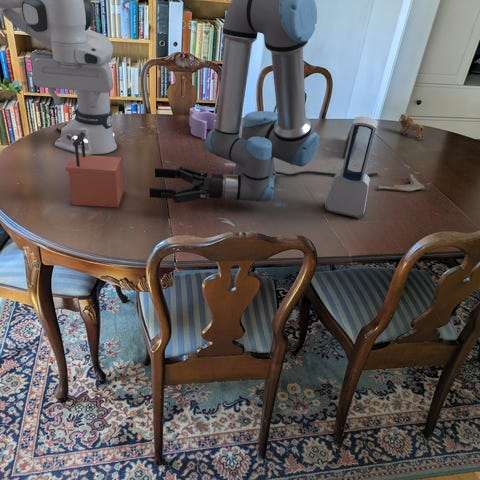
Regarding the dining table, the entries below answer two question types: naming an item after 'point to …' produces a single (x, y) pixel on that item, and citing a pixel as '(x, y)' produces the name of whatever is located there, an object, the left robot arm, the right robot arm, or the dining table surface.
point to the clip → (201, 122)
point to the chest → (96, 188)
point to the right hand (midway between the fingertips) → (152, 182)
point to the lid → (92, 161)
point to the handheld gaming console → (348, 141)
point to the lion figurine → (410, 125)
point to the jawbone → (405, 186)
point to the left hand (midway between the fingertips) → (75, 105)
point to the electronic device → (352, 178)
